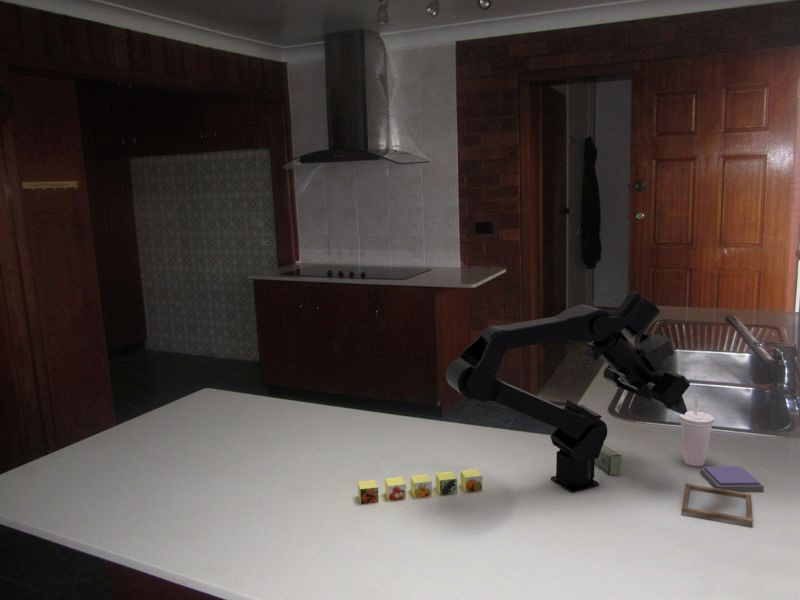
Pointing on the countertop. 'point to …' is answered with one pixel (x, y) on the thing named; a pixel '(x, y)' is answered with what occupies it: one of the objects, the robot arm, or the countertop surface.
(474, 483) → the fruit picture blocks
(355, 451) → the countertop surface
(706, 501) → the marked square
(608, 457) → the medication box
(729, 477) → the ink pad
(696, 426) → the smoothie
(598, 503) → the countertop surface
